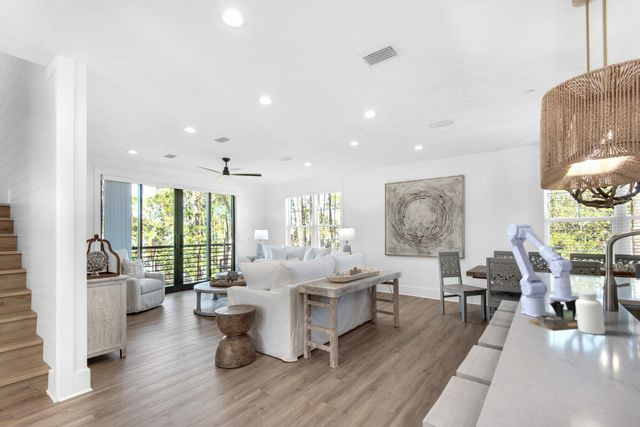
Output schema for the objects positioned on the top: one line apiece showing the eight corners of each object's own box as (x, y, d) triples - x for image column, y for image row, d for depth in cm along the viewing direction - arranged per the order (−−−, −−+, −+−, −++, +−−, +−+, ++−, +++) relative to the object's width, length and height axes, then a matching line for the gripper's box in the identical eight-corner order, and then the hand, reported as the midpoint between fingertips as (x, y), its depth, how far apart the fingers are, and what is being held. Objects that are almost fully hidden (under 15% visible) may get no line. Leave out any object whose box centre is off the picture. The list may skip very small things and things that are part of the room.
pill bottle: (594, 328, 125) (590, 290, 126) (611, 335, 117) (606, 294, 118) (573, 329, 125) (569, 291, 126) (588, 335, 117) (584, 295, 119)
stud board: (529, 322, 137) (528, 314, 137) (566, 319, 138) (565, 311, 139) (552, 330, 125) (551, 321, 125) (592, 327, 127) (591, 318, 127)
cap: (555, 318, 136) (554, 309, 137) (566, 317, 137) (565, 308, 137) (565, 321, 131) (565, 312, 132) (576, 320, 132) (575, 311, 132)
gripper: (555, 289, 131) (558, 322, 129) (586, 287, 132) (590, 320, 131) (541, 286, 138) (544, 318, 136) (571, 285, 139) (574, 315, 138)
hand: (566, 318), depth 134 cm, fingers closed on cap, 5 cm apart
